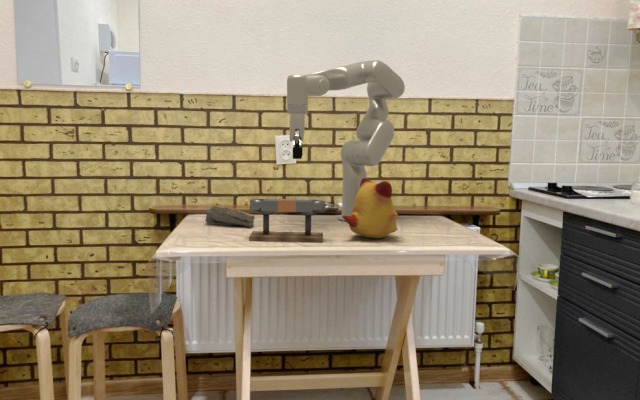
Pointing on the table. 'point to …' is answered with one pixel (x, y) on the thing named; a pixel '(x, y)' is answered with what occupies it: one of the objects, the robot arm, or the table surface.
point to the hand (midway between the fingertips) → (297, 157)
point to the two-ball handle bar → (287, 205)
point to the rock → (228, 217)
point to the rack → (286, 236)
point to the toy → (373, 210)
